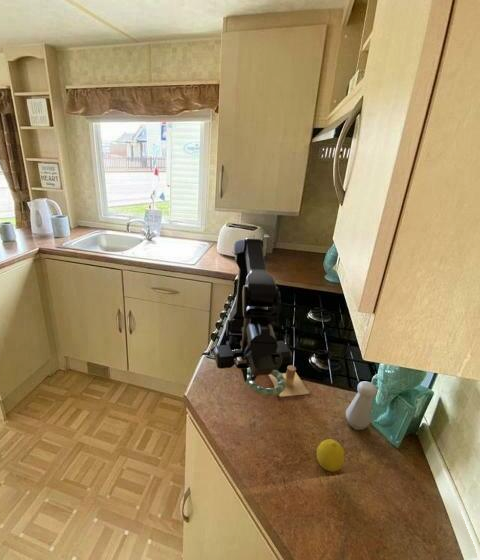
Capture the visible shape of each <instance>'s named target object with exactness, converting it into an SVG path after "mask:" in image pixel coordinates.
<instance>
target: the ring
mask: <svg viewBox="0 0 480 560" xmlns="http://www.w3.org/2000/svg"><path fill="white" fill-rule="evenodd" d="M281 373H282V372H280V371H279V370H273V371H272V373H271V375H273V376H274V377H276V379H277V380H278V386H276V387H275V386H274V387H270V388H269V387H264V386H260V385H258V384H257V383H256V382H255V381H253V380H252V378H251V368H250V366H249V368H247V380H246V381H244V382H245V384H246V386H247V388H249V389H251V391H253V392H254V393H255V394H258V395H261V396H265V397H276V396H279V394H280V393H281V392H283V391H284V390H285V385H286V381H285V379H284V377H283V375H282V374H281Z"/></svg>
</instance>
